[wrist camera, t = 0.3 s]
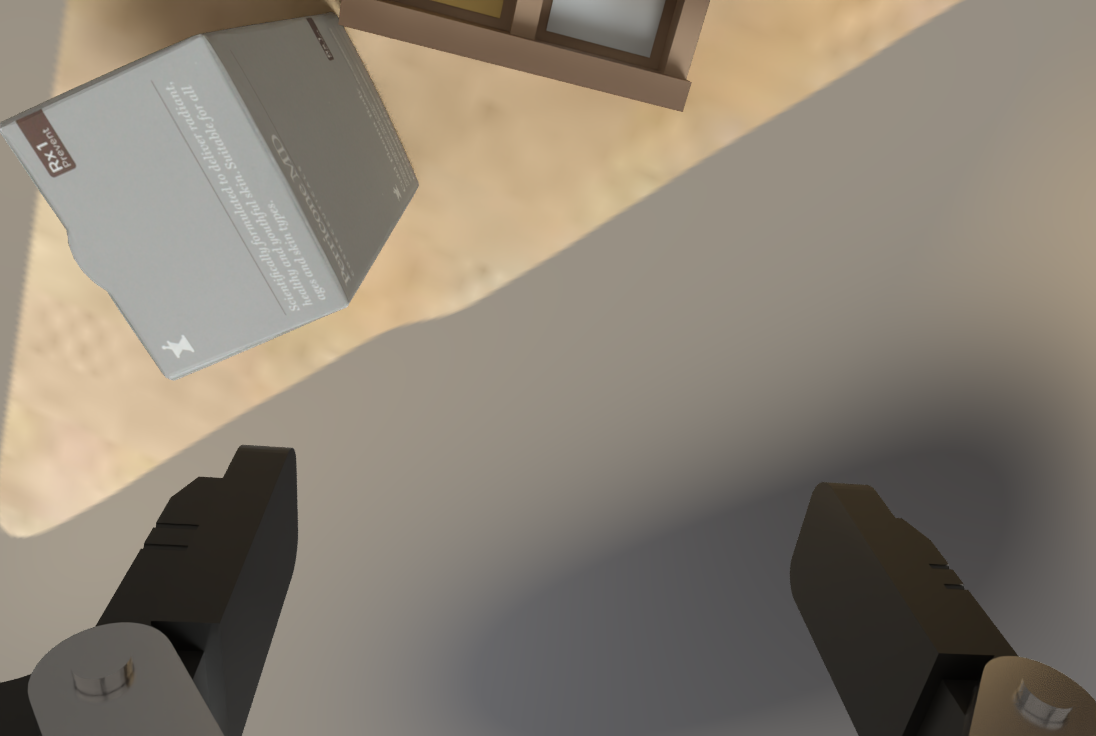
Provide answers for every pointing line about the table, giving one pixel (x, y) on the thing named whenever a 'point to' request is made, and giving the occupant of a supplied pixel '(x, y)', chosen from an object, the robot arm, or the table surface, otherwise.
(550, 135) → the table surface
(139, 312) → the skincare box
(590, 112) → the table surface
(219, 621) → the robot arm
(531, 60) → the brown divided tray
